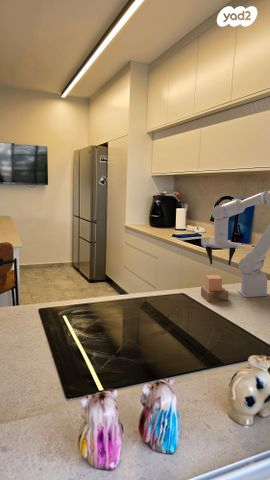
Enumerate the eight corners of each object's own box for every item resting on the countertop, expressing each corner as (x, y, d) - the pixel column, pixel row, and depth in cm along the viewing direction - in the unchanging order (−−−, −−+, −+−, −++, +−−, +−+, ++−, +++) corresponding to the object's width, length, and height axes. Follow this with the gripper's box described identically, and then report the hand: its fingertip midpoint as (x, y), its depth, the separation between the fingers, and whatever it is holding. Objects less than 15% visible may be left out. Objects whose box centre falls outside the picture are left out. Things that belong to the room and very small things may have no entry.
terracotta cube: (218, 286, 133) (218, 274, 132) (221, 290, 128) (221, 278, 127) (206, 287, 133) (206, 275, 132) (208, 291, 128) (209, 278, 127)
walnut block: (219, 294, 135) (219, 285, 135) (228, 301, 127) (228, 291, 127) (201, 296, 134) (201, 286, 133) (208, 303, 126) (208, 293, 126)
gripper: (202, 234, 139) (202, 265, 142) (238, 235, 135) (237, 267, 137) (204, 232, 146) (204, 261, 148) (238, 232, 142) (237, 263, 144)
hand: (220, 264), depth 143 cm, fingers open, 7 cm apart
